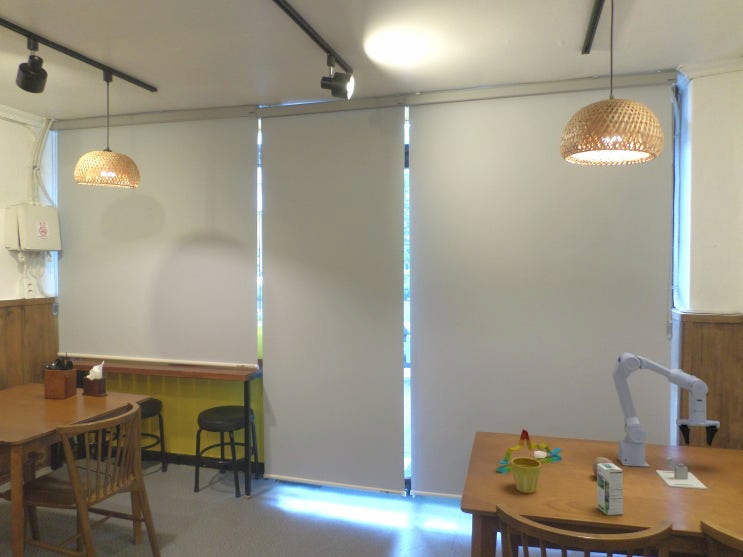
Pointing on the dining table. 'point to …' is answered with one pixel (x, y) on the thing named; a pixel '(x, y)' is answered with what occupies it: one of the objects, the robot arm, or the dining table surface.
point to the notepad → (680, 480)
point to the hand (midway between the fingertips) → (697, 444)
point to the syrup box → (610, 489)
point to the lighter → (678, 469)
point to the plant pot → (525, 473)
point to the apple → (599, 461)
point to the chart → (531, 447)
